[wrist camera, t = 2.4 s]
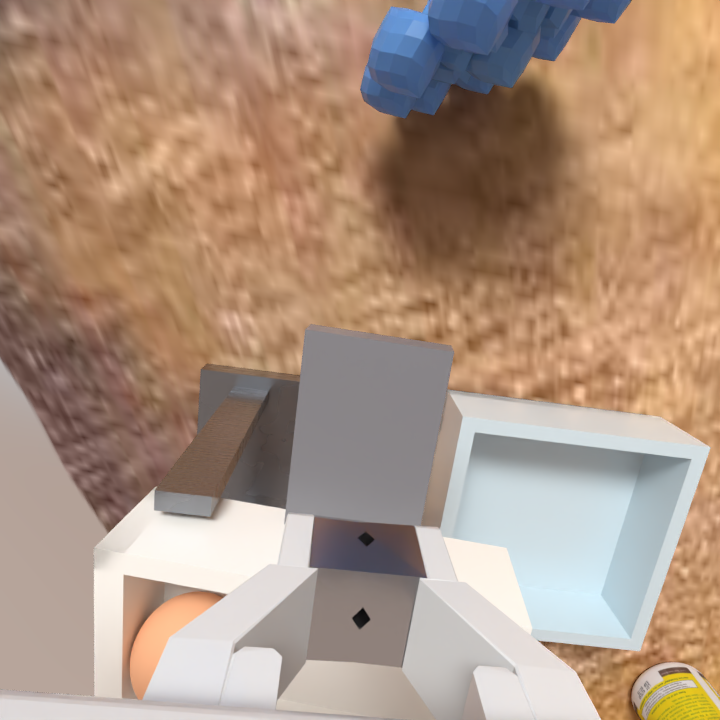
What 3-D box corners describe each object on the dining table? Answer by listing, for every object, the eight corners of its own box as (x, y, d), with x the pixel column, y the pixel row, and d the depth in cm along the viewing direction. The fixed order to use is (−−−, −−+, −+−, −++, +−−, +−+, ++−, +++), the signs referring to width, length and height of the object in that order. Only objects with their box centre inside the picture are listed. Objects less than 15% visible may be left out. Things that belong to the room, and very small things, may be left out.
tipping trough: (552, 361, 17) (595, 397, 13) (462, 727, 21) (475, 837, 17) (162, 301, 18) (93, 319, 14) (149, 666, 22) (94, 758, 18)
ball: (273, 618, 17) (157, 677, 14) (263, 707, 18) (153, 778, 15) (219, 555, 20) (114, 594, 17) (213, 635, 21) (113, 684, 18)
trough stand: (305, 376, 30) (270, 483, 17) (285, 558, 33) (242, 761, 20) (207, 363, 29) (96, 463, 17) (196, 548, 33) (97, 747, 20)
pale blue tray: (659, 416, 31) (710, 447, 26) (603, 597, 34) (639, 651, 30) (447, 389, 30) (462, 416, 26) (411, 576, 33) (419, 628, 29)
